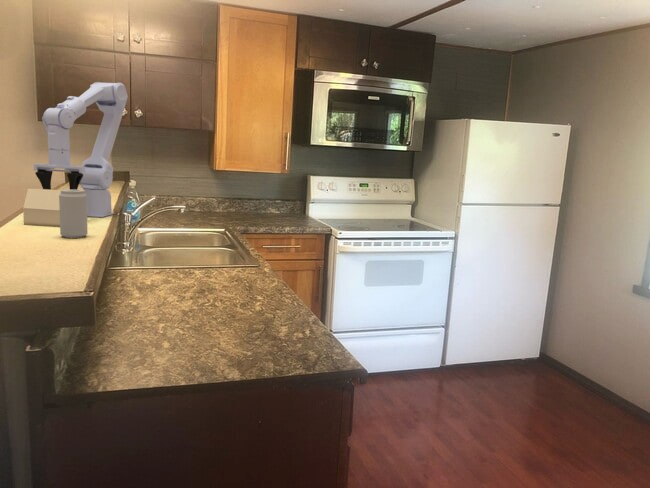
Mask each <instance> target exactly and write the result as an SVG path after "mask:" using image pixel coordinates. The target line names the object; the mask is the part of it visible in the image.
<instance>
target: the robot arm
mask: <svg viewBox="0 0 650 488" xmlns="http://www.w3.org/2000/svg"><path fill="white" fill-rule="evenodd" d="M89 86H90V87H89V88H88V89H87V90H86V91H84V92H83V93H82V94H81V95H79V96H73V95H69V96H67V97H66V100H65V101H63V102H61V103H58V104H56V105H57V106H55V107H49V108H47V109H46V110H45V111H44V112H43V114H42V115H43V116H42V117H41V120H42V123H43V125H44V126H45V132H46V134H47V149H48V150H47V151H48V154H47V155H48V156H47V158H48V163H33V171H35V176H36V177H37V178H38V181H39V183H40V185H41V186H42V187H41V188H42V189H47V190H52V177H53V176H52V175H53V172H58V173H59V172H60V173H61V172H64V173H66V175H67V176H66V177H67V181H68V185H69V186H68V187H69V190H79V189H78V188H79V185H80V188H82V190H84V191H85V194H86V195H87V217H94V218H103V217H108V216H111V215H114V214H115V212H113V211H112V194H111V192H110V190H109V189H110V186H111V185H112V183H113V178H114V175H113V174H114V166H112V164H111V163H110V162H109V160H110V157H111V153H112V151H113V147H114V144H115V141H116V138H117V134H118V131H119V128H120V124H121V121H122V118H123V112H124V110H125V108H126V105H127V102H128V98H129V96H128V95H129V94H128V92H127V89H126V86H125V85H124V84H123V83H122V82H100V81H96V82H94V83H92V84H90V85H89ZM94 103H96V106H97V108H98V109H99V111H101V112H102V113H103V117H102V120H101V123H100V127H99V130H98V133H97V135H96V140H95V142H94V146H93V149H92V152H91V155H90V156H89V157H88V158H87V159H85V160H83V161H82V163H81V165H73V164H72V165H71V150H70V149H71V146H70V145H71V144H70V143H71V142H70V129H71V128H72V127H73V126H74V122H75V121H76V120H77V119H79V117H81V116H82V115H84V114H85V113H86V112H87V107H89V106H91V105H92V104H94Z"/></svg>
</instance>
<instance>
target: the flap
mask: <svg viewBox="0 0 650 488" xmlns="http://www.w3.org/2000/svg"><path fill="white" fill-rule="evenodd" d="M61 190H62V189H60V190H59V189H51V190H47V189H43V188H27V190H26V191H27V192H26V194H25V200H24V204H23V206H22V209H39V210H56V211H60V209H59V195H60V193H61Z"/></svg>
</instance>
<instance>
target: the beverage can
mask: <svg viewBox="0 0 650 488" xmlns="http://www.w3.org/2000/svg"><path fill="white" fill-rule="evenodd" d="M60 190H61V193H60V195H59V209H60V227H59V231H60V233H59V234H60V235H61V236H62V237H63V238H64V239H80V238H84V237H85V236H86V235H88V233H89V232H88V216H87V195H86V194H85V191H84V190H83V189H77V190H70V189H60Z"/></svg>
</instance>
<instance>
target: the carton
mask: <svg viewBox="0 0 650 488" xmlns="http://www.w3.org/2000/svg"><path fill="white" fill-rule="evenodd" d="M22 212H23V214H22V215H23V225H27V226H41V227H42V226H44V227H57V228H60V211H56V210H39V209H24V208H22Z"/></svg>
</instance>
